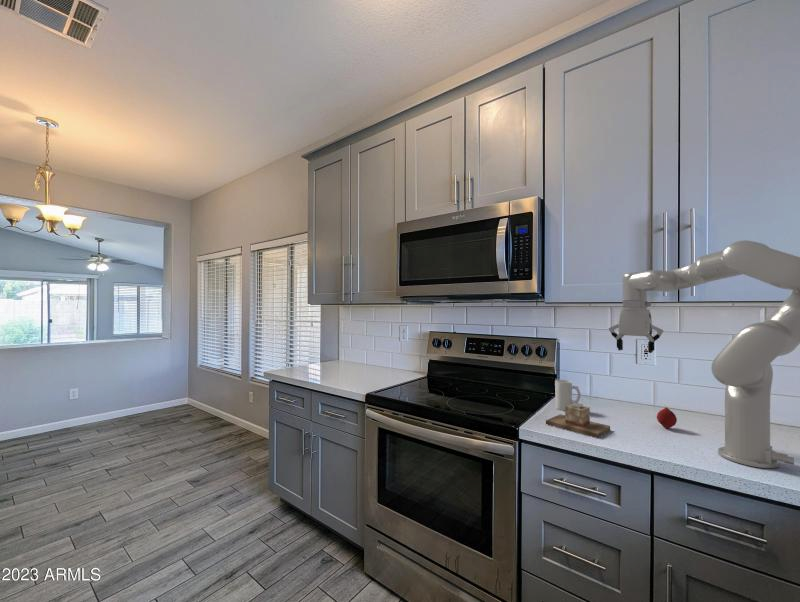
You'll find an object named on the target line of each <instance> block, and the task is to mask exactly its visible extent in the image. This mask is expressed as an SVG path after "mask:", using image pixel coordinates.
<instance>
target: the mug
mask: <svg viewBox="0 0 800 602" xmlns="http://www.w3.org/2000/svg"><path fill="white" fill-rule="evenodd" d="M554 386H555V387H554V389H555V392H554V395H555V409H557V410H559V411H562V410H563V411H564V412H565V407H566V406H568V405H570V404H573V403H579V401H580V400H581V391H580V389H579V386H578V385H573V381H571V380H568V379H555V380H554ZM573 390H575V392H576V393H577V397H576V399H575V400H573V394H572V393H573Z"/></svg>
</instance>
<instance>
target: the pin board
mask: <svg viewBox="0 0 800 602" xmlns="http://www.w3.org/2000/svg"><path fill="white" fill-rule="evenodd" d="M546 424H548V425H547V426H550V425H551V426H550V427H553V426H555V427H554V428H557V427H558V429H561V428H562V429H561V430H565V429H566V430H565V431H568V430H569V432H572V431H573V432H572V433H576V432H577V434H580V435H584V436H588V437H591V436H592V437H591V438H595V437H596V438H595V439H599V438H600V437H602V436H603V435H605V434H606V433H608V432H609V430H611V425H609V424H608V425H607V424H604V423H599V422H595V421H590V424H588V425H586V426H584V427H580V426H576V425H572V424H568V423H565V415H564V414H561V413H560V414H558V415H554V416H553V417H550V418H549V419H547V420H546V419H545V425H546ZM607 431H608V432H607ZM604 433H605V434H604ZM601 435H602V436H601ZM598 437H599V438H598Z"/></svg>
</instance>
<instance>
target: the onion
mask: <svg viewBox="0 0 800 602" xmlns="http://www.w3.org/2000/svg"><path fill="white" fill-rule="evenodd" d="M656 419H657V422H658V423H659V424H660V425H661V426H662V427H663V428H664V429H666V430H667V429H670V428H672V427H674V426H675V425H676V424H677V421H678V418H677V415H676V414H675V413H674V412H673V411H672V410H670V409H669V407H667V406H664V407H663V409H660V410H659V411H658V413H657V414H656Z"/></svg>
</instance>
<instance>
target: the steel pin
mask: <svg viewBox="0 0 800 602" xmlns="http://www.w3.org/2000/svg"><path fill="white" fill-rule="evenodd" d="M583 406H584V404H583V403H579V402H578V403H573V404H571V407H574V408H578V409H582V408H583Z"/></svg>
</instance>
